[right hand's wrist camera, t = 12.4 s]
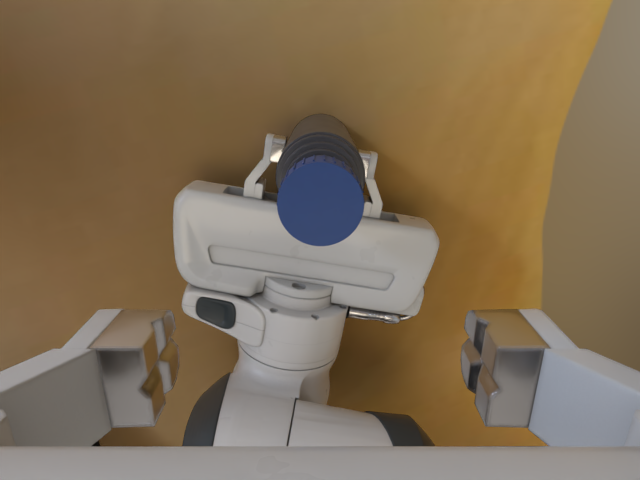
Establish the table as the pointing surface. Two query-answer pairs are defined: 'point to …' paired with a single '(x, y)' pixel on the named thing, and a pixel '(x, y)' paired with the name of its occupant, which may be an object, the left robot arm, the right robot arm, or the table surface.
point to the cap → (320, 201)
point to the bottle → (320, 145)
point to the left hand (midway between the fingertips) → (322, 143)
